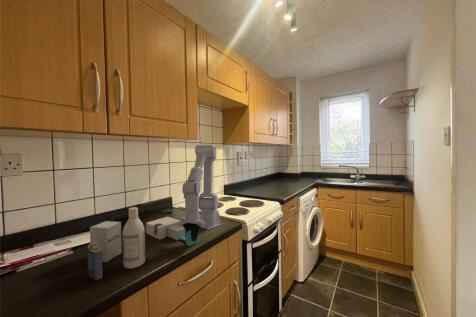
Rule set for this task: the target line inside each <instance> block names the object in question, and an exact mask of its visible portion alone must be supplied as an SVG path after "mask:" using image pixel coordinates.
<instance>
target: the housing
mask: <svg viewBox="0 0 476 317" xmlns="http://www.w3.org/2000/svg"><path fill="white" fill-rule="evenodd" d="M158 223H160V224H161V226H158V227H157V234H155V224H158ZM145 224H146V225H145V229H146V232H145V235H148V236H151V237H153V238H155V239H158V240H162V239H165V238H167V236H166V227H168V226H171V225H177V226H180V227H182V221H180V219H177V218H173V217H170V216H165V217H161V218H158V219H155V220H152V221H151V220H150V221H148V222H146V223H145Z"/></svg>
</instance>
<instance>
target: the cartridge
mask: <svg viewBox="0 0 476 317" xmlns="http://www.w3.org/2000/svg"><path fill="white" fill-rule="evenodd" d="M166 237H168V238H171V239H173V240H176V241H179V240H181V241H184V242H185V245H186V246H187V247H190V246H192V245H195V244H198V242H199V243H200V232H199V233H198V236H197V240H196V241H192V238H191V231H188V232H186V230H185V228H184V227H182V226H181V227H180V226H177V225H171V226H168V227H166Z"/></svg>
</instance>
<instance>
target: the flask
mask: <svg viewBox="0 0 476 317" xmlns="http://www.w3.org/2000/svg"><path fill="white" fill-rule="evenodd" d="M96 244H97V242H96V243H94V242H92V244H91V243H90V242H89V244H88V245H87V276H88V277H89V278H90V279H91V280H93V281H99V280H101V279H103V277H104V276H103V275H104V273H103V262H102V249H99V248H98V247H97V245H96Z"/></svg>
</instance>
